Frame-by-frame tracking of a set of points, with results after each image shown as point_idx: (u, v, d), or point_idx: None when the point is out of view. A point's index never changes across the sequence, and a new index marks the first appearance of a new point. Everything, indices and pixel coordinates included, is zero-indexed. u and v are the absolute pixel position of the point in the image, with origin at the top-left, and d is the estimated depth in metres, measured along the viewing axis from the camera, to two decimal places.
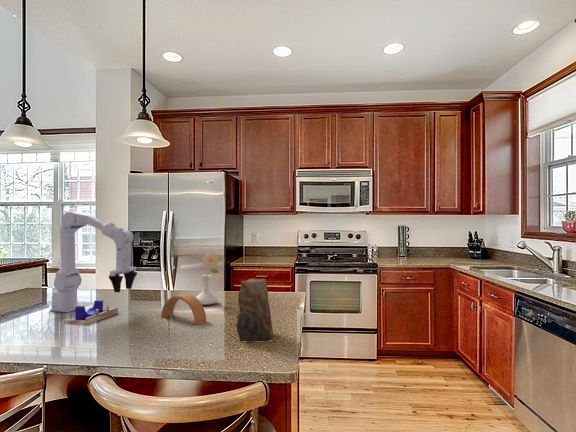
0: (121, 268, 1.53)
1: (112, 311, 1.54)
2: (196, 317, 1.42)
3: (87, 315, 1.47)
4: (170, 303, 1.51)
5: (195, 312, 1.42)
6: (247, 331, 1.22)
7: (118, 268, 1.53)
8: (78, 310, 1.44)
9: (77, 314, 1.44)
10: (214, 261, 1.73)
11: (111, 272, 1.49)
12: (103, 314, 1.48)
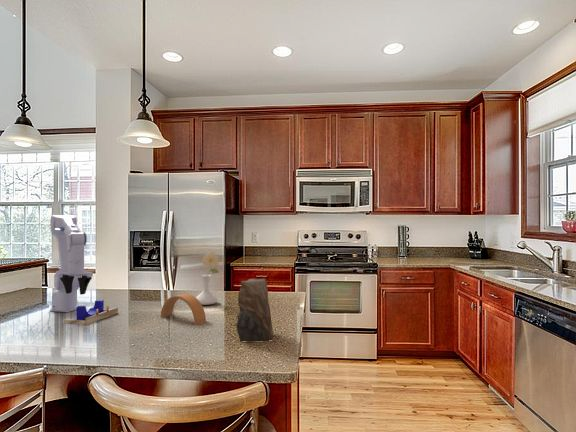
0: None
1: (112, 311, 1.54)
2: (195, 317, 1.42)
3: (88, 315, 1.47)
4: (169, 303, 1.51)
5: (195, 311, 1.43)
6: (247, 331, 1.22)
7: None
8: (79, 310, 1.44)
9: (78, 314, 1.44)
10: (214, 261, 1.73)
11: None
12: (103, 314, 1.48)
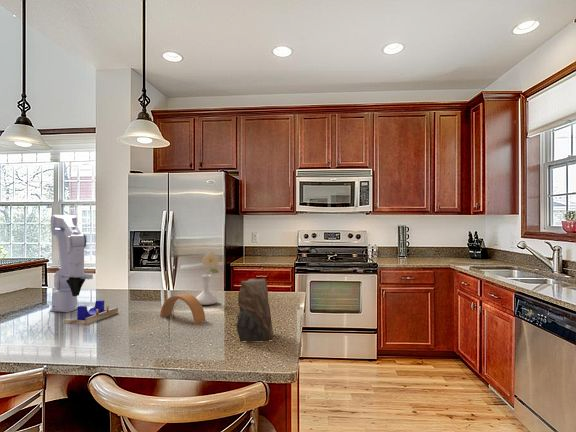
0: None
1: (112, 311, 1.54)
2: (195, 317, 1.42)
3: (89, 315, 1.47)
4: (169, 303, 1.52)
5: (194, 311, 1.43)
6: (247, 331, 1.22)
7: None
8: (80, 310, 1.44)
9: (79, 314, 1.44)
10: (214, 261, 1.73)
11: None
12: (103, 314, 1.48)
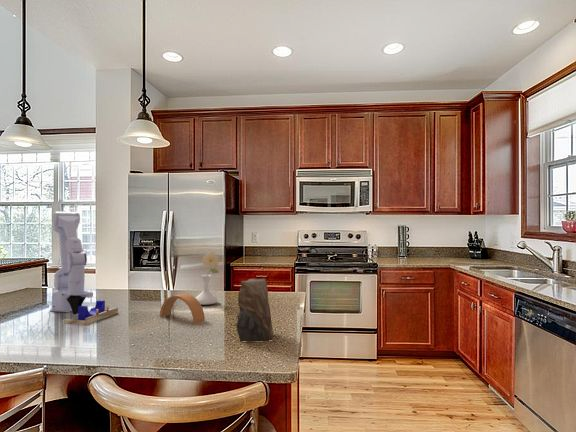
0: None
1: (112, 311, 1.54)
2: (194, 316, 1.42)
3: (90, 315, 1.47)
4: (168, 302, 1.52)
5: (193, 311, 1.43)
6: (247, 331, 1.22)
7: None
8: (81, 310, 1.44)
9: (80, 314, 1.44)
10: (214, 261, 1.73)
11: None
12: (103, 314, 1.48)
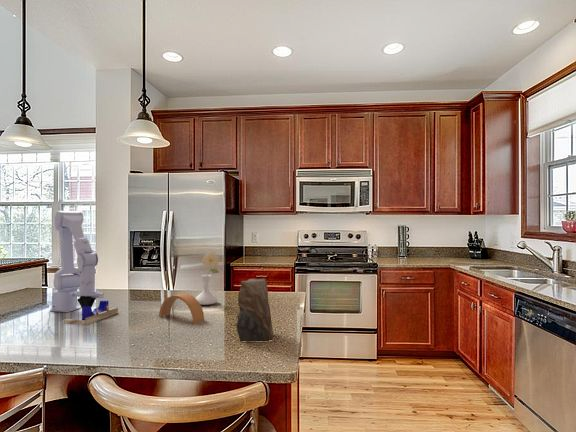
0: None
1: (112, 311, 1.54)
2: (194, 316, 1.43)
3: None
4: (168, 302, 1.52)
5: (193, 311, 1.44)
6: (247, 331, 1.22)
7: None
8: (85, 310, 1.44)
9: (84, 314, 1.44)
10: (214, 261, 1.73)
11: None
12: (103, 314, 1.48)
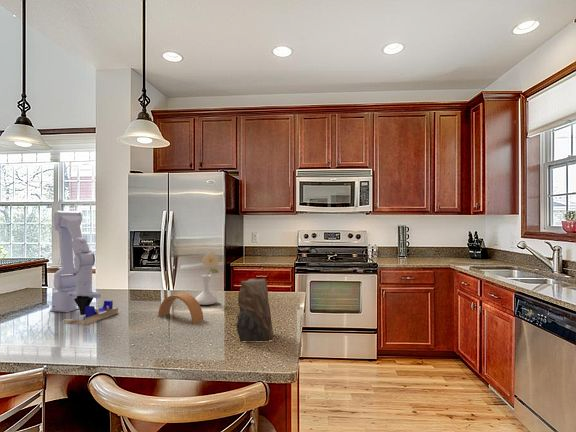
0: None
1: (112, 311, 1.54)
2: (193, 316, 1.43)
3: None
4: (167, 302, 1.52)
5: (192, 311, 1.44)
6: (247, 331, 1.22)
7: None
8: (88, 310, 1.44)
9: (87, 314, 1.44)
10: (214, 261, 1.73)
11: None
12: (103, 314, 1.48)
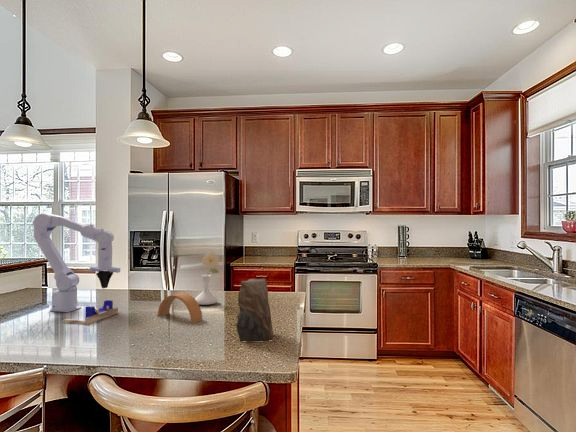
0: None
1: (112, 311, 1.54)
2: (192, 316, 1.44)
3: None
4: (166, 302, 1.53)
5: (191, 310, 1.44)
6: (247, 331, 1.22)
7: None
8: (88, 310, 1.44)
9: (87, 314, 1.44)
10: (214, 261, 1.73)
11: None
12: (103, 314, 1.48)
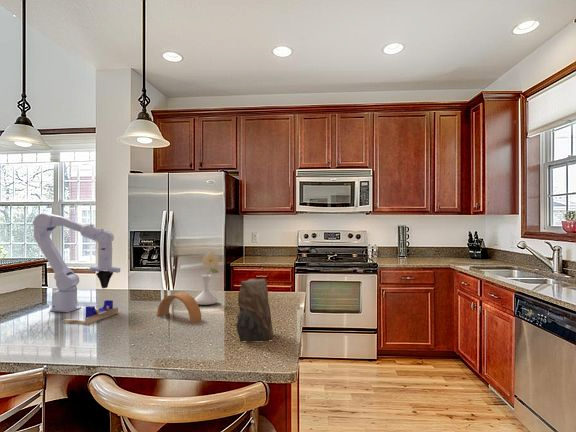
0: None
1: (112, 311, 1.54)
2: (191, 315, 1.44)
3: None
4: (166, 302, 1.53)
5: (190, 310, 1.45)
6: (247, 331, 1.22)
7: None
8: (88, 310, 1.44)
9: (87, 314, 1.44)
10: (214, 261, 1.73)
11: None
12: (103, 314, 1.48)
